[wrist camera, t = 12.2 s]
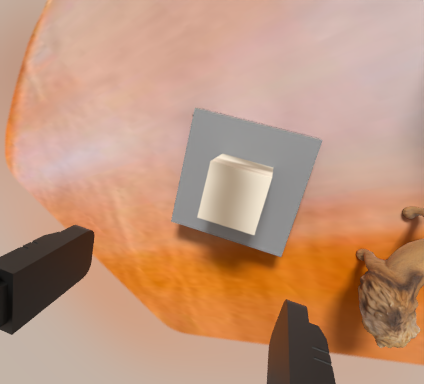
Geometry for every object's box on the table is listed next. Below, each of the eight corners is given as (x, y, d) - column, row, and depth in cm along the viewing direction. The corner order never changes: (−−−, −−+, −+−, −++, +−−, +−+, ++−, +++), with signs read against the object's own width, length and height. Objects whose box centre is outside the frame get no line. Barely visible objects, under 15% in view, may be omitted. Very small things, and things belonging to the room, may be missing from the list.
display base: (318, 138, 28) (322, 140, 25) (281, 244, 31) (281, 257, 28) (203, 108, 30) (194, 107, 27) (180, 212, 33) (171, 221, 30)
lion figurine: (373, 303, 31) (409, 374, 22) (331, 276, 31) (350, 335, 22) (483, 195, 26) (583, 232, 17) (431, 164, 26) (504, 185, 18)
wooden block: (273, 167, 26) (272, 178, 22) (258, 215, 28) (254, 235, 23) (222, 153, 27) (210, 160, 22) (210, 201, 29) (197, 217, 24)
